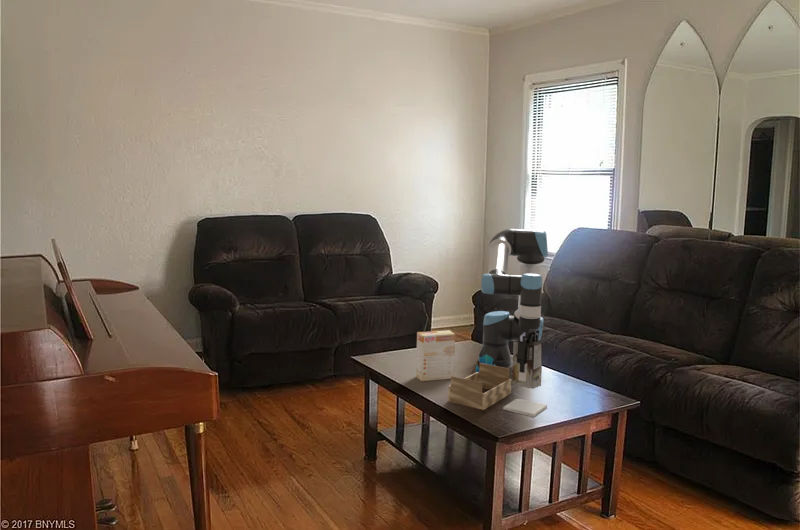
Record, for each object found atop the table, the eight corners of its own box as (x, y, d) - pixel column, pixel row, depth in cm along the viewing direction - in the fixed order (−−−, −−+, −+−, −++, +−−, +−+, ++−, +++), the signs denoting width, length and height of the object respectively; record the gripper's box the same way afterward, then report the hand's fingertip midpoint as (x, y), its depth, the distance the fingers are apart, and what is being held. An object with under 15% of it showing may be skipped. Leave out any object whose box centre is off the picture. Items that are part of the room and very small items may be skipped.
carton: (476, 386, 264) (477, 362, 263) (510, 393, 256) (511, 369, 254) (448, 401, 245) (448, 375, 244) (483, 410, 237) (484, 383, 235)
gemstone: (495, 384, 267) (497, 355, 266) (474, 382, 269) (475, 354, 267) (496, 378, 274) (498, 351, 273) (476, 377, 276) (477, 349, 274)
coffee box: (542, 385, 237) (544, 342, 235) (532, 389, 233) (534, 345, 230) (520, 380, 243) (522, 338, 241) (511, 383, 239) (512, 341, 237)
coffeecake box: (448, 374, 280) (449, 329, 277) (454, 378, 273) (456, 333, 270) (415, 376, 275) (416, 331, 273) (420, 381, 268) (422, 335, 266)
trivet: (517, 400, 248) (517, 398, 247) (546, 407, 241) (547, 404, 241) (503, 409, 238) (503, 406, 238) (534, 416, 231) (534, 414, 231)
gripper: (531, 311, 245) (528, 370, 248) (508, 319, 229) (505, 382, 232) (550, 313, 241) (546, 373, 244) (528, 322, 224) (525, 386, 227)
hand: (526, 378), depth 238 cm, fingers closed on coffee box, 7 cm apart
